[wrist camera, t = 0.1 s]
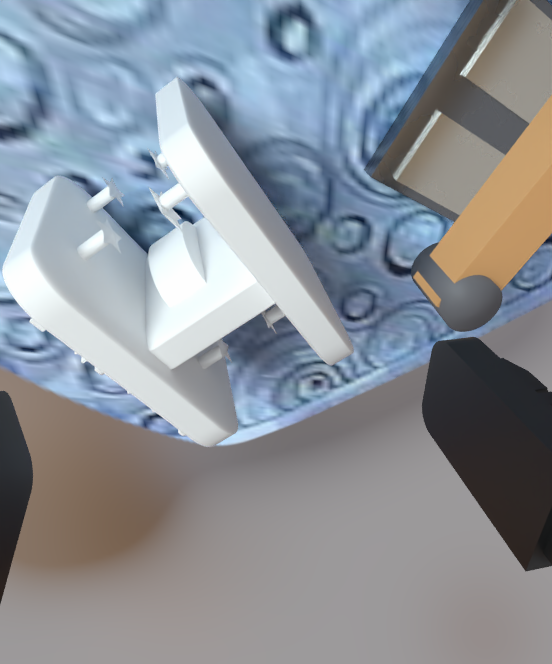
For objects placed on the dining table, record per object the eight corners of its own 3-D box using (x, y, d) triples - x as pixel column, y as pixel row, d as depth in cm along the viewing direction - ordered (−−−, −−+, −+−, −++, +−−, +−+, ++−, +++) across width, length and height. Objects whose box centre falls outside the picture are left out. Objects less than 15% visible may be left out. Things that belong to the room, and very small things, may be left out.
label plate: (493, -38, 26) (509, -37, 25) (593, 53, 30) (611, 57, 29) (364, 169, 32) (372, 178, 30) (462, 222, 36) (473, 232, 34)
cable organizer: (314, 262, 35) (373, 373, 26) (194, 340, 37) (210, 468, 28) (178, 64, 26) (197, 131, 17) (28, 182, 28) (-25, 298, 19)
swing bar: (613, -6, 23) (695, 5, 19) (650, 32, 24) (733, 48, 21) (400, 278, 30) (433, 321, 27) (438, 294, 31) (474, 338, 28)
